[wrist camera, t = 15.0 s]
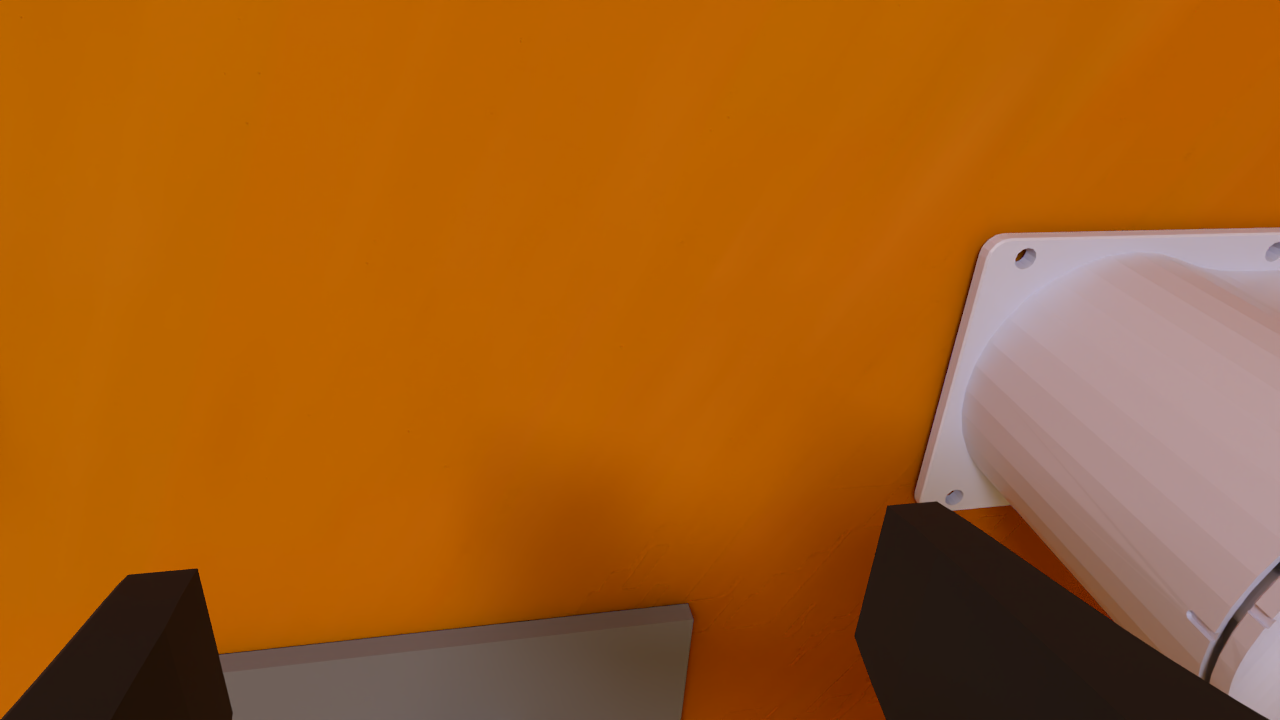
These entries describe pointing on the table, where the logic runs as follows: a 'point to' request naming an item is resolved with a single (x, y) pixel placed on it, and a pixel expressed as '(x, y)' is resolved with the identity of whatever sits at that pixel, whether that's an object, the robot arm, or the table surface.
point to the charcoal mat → (478, 672)
